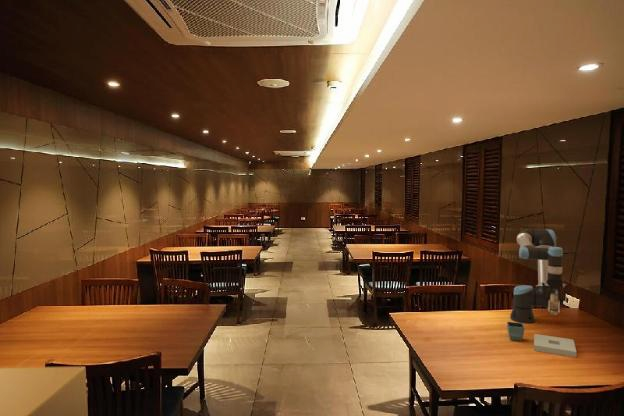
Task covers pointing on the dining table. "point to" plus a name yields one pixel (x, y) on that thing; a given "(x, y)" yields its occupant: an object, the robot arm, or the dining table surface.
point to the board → (554, 345)
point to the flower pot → (515, 330)
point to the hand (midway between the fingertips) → (553, 311)
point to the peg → (553, 304)
